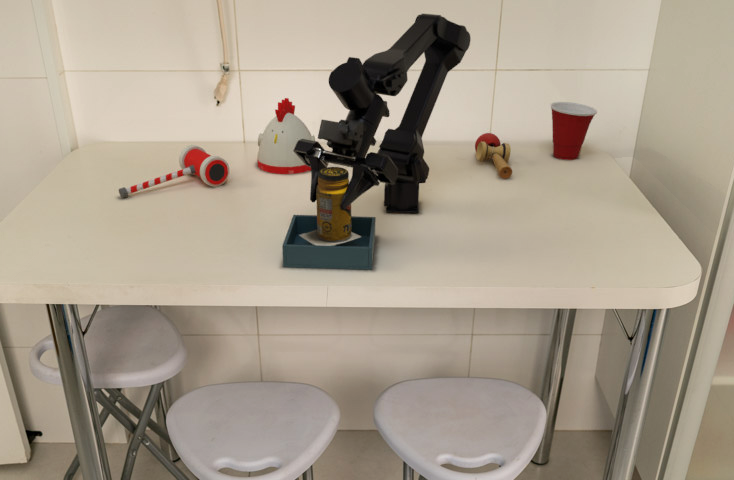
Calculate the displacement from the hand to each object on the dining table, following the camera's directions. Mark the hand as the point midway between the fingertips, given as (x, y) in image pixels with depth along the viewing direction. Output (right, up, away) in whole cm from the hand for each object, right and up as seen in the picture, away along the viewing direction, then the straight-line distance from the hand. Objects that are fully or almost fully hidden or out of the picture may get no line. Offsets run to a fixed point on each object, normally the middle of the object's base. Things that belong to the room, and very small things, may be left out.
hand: (326, 204), depth 134 cm
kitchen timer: (-11, +18, +48) cm, 52 cm away
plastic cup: (+56, +21, +54) cm, 80 cm away
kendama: (+37, +17, +47) cm, 63 cm away
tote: (+1, -7, +6) cm, 9 cm away
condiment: (0, -5, +5) cm, 7 cm away
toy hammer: (-33, +10, +36) cm, 49 cm away
